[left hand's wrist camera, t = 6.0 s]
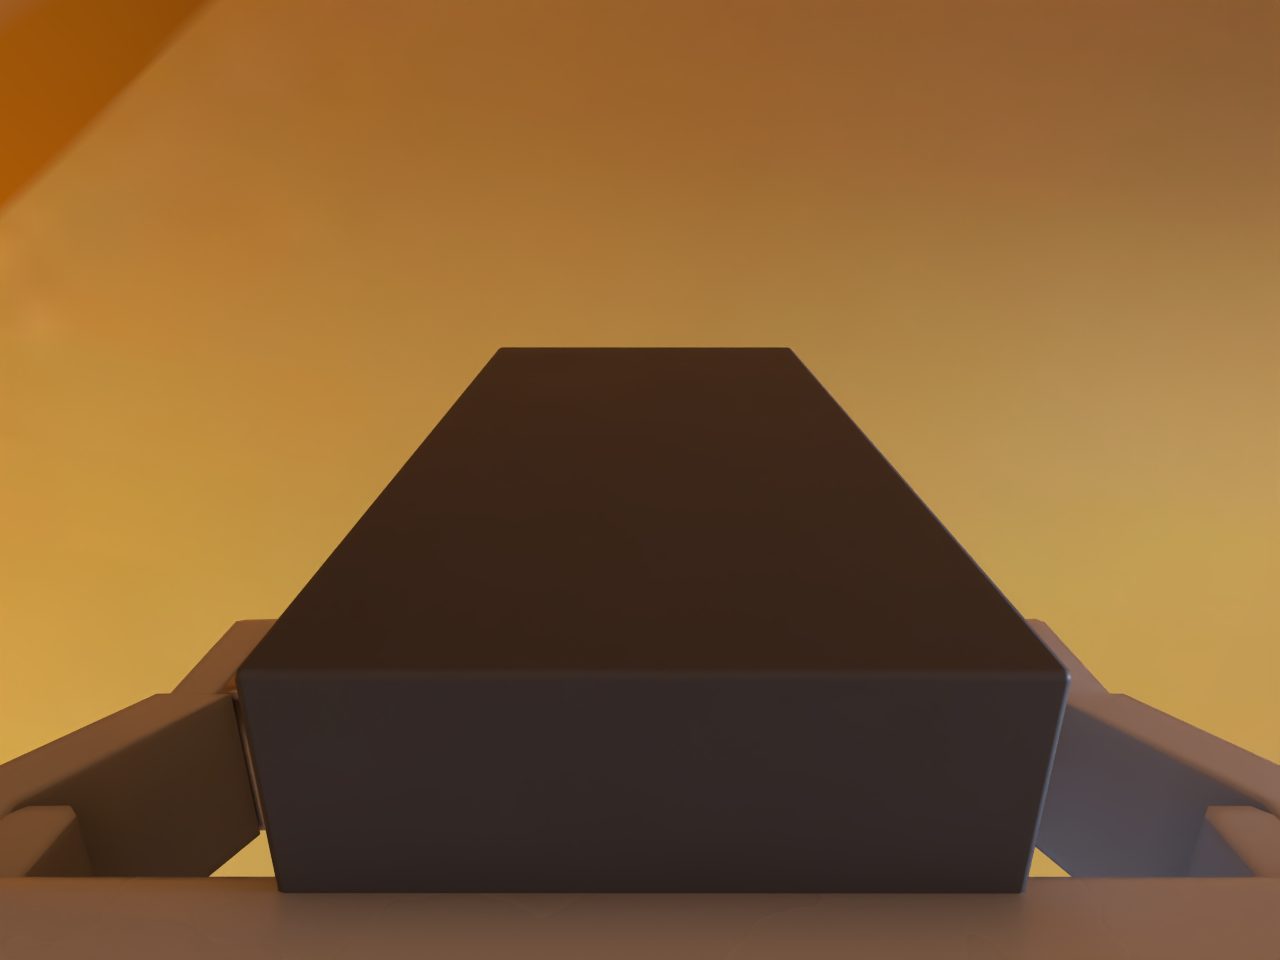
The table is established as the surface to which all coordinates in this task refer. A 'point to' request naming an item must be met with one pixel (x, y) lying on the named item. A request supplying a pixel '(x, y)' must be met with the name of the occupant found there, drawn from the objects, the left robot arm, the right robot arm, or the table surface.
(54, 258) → the table surface
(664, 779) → the bar
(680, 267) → the table surface
